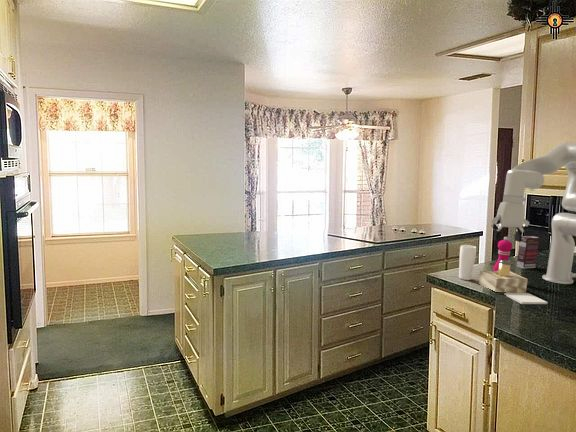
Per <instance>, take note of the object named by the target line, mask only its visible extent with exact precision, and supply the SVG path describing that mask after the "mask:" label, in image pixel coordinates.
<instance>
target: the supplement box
mask: <svg viewBox="0 0 576 432" xmlns="http://www.w3.org/2000/svg"><path fill="white" fill-rule="evenodd" d="M518 243H519V245H518V251H517V252H518V253H517V259H516V260H517V261H516V267H518V268H520V269H535V268H536V267H537V262H538V260H537V259H538V252H539V251H538V250H539V245H540V237H538V236H534V235H531V236H530V235H527V236H526V235H524V236H523V235H522V239H521V242H518Z"/></svg>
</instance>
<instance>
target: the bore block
mask: <svg viewBox="0 0 576 432" xmlns="http://www.w3.org/2000/svg"><path fill="white" fill-rule="evenodd" d="M478 279H479V280H478V285H479V284H480V285H479V286H481V285H482V286H481V287H483V286H484V287H483V288H485V287H486V288H485V289H487V288H489V289H491V290H493V291H495V292H506V293H527V286H528V280H529V279H528V278H526V277H523V276H522V275H519V274H518V273H514V272H513V271H511V272H510V273H509V277H501V276H499V275H498V271H493V270H479V277H478ZM489 289H488V290H489Z"/></svg>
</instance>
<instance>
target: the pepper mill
mask: <svg viewBox="0 0 576 432" xmlns="http://www.w3.org/2000/svg"><path fill="white" fill-rule="evenodd" d="M512 243H513V242H511V241H510V240H509V237H508V236H504V237H503V239H500V241H498V242H497V248H498V250H497V254H498V258H497V261H496V262H495V264H494V266H493V267H492V271H498V269H499V261H500V260H508V261H509V257H510V255H511V250H512V249H513V244H512ZM510 272H512V270H511V269H510Z"/></svg>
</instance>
